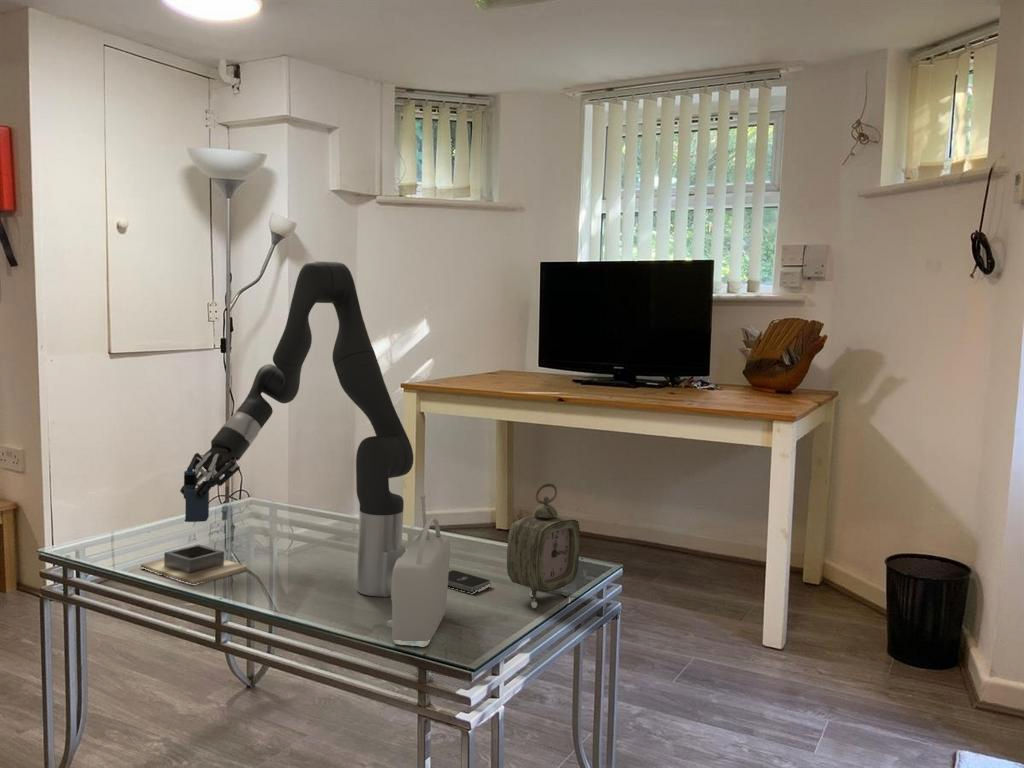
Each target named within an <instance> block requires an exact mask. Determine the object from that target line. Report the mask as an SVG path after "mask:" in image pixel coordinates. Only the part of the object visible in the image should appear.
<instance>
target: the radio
mask: <svg viewBox="0 0 1024 768" xmlns="http://www.w3.org/2000/svg"><path fill="white" fill-rule="evenodd" d="M420 498H421V509H422V510H421V511H422V512H421V513H422V526H423V527H422V528H423V529H421V530H420V532H419V535H418V536H416V538H415V539H414V540H413V542H412V543H411V544H410V545H409V547H408V548H406V552H405V553H404V554H403V555H402V556H401V558H398V559H397V560H396V563H395V565H394V568H393V574H392V581H391V595H390V600H391V608H392V609H391V619H388V620H387V621H386V627H387V628H391V640H392V639H393V640H401V641H428V640H430V639H431V638H432V636H433V635H434V636H435V634H434V633H436V632H437V630H438V628H439V626H440V624H441V622H442V621H443V618H444V616H445V615H446V611H447V601H448V600H447V599H448V590H449V588H448V573H449V571H450V570H449V569H450V556H451V555H450V553H451V541H450V539H449V538H448V537H447V536H442V535H441V527H440V524H439V521H438V520H437V518H429V519H427V516H426V515H427V514H426V494H425V493H420ZM432 523H433V526H434V529H435V535H430V531H429V530H430V527H431V525H432ZM435 631H436V632H435ZM434 636H433V637H434ZM432 639H433V638H432ZM393 640H392V641H393Z"/></svg>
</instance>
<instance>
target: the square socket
mask: <svg viewBox="0 0 1024 768" xmlns="http://www.w3.org/2000/svg"><path fill="white" fill-rule="evenodd" d="M163 559H164V566H166V567H169V568H172V569H175V570H178V571H182V572H185V573H188V574H192V573H195V572H199V571H203V570H206V569H210V568H214V567H217V566H221V565H224V559H225V551H223V550H220V549H216V548H212V547H209V546H206V545H202V544H199V543H198V544H195V545H191V546H187V547H183V548H178V549H174V550H168V551H165V552H164V557H163Z"/></svg>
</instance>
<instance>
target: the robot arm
mask: <svg viewBox="0 0 1024 768" xmlns="http://www.w3.org/2000/svg"><path fill="white" fill-rule="evenodd" d="M315 304H332V305H333V306H334V309H335V312H336V316H337V320H338V331H337V335H336V339H335V342H334V346H333V350H332V363H333V366H334V369H335V372H336V376H337V379H338V382H339V384H340V387H341V389H342V390H343V392H344V393H345V394H346V395H347V396H348V398H349V399H350V400H351V401H352V403H354V404H355V405H356V406H357V407H358V408H359V409H360V411H362V413H364V415H365V416H366V418H367V419H368V420H369V422H370V424H371V427H372V428H373V431H374V434H375V435H373V436H368V437H365V438H364V439H362V440H361V442H360V443H359V444H358V446H357V447H358V448H357V449H356V456H355V475H356V479H355V480H356V486H355V487H356V488H355V489H356V495H357V496H356V497H357V500H358V503H359V504H358V505H359V511H358V512H359V513H358V516H359V517H358V539H357V540H358V542H357V543H358V544H357V548H358V549H357V564H356V565H357V569H356V570H357V571H356V574H357V575H356V576H357V577H356V591H357V592H358V593H360V594H362V595H364V596H369V597H383V598H388V597H391V581H392V574H393V568H394V565H395V563H396V560H397V559H398V558H401V556H402V555H403V554H404V553H405V552H406V550H407V548H406V546H404V545H403V528H404V527H403V526H404V525H403V524H404V503H405V502H404V498H403V497H402V496H401V495H400V494H397V493H393V492H391V490H390V480H389V479H393V478H398V477H403V476H405V475H407V474H409V473H410V471H411V470H412V468H413V466H414V465H413V464H414V451H413V447H412V445H411V441H410V439H409V437H408V435H407V432H406V430H405V429H404V425H403V424H402V422H401V420H400V417H399V416H398V413H397V411H396V408H395V406H394V404H393V402H392V399H391V396H390V393H389V391H388V388H387V386H386V383H385V380H384V376H383V373H382V370H381V367H380V364H379V360H378V358H377V356H376V353H375V350H374V347H373V346H372V343H371V342H372V341H371V339H370V336H369V333H368V330H367V327H366V323H365V321H364V320H365V319H364V318H363V314H362V313H363V312H362V310H361V305H360V301H359V297H358V293H357V288H356V285H355V281H354V278H353V274H352V272H351V271H350V269H349V267H348V266H347V265H346V264H344V263H342V262H337V261H321V260H316V261H314V260H312V261H307V262H306V263H305V264H304V265H303V266H302V267H301V269H300V271H299V272H298V275H297V279H296V282H295V285H294V290H293V294H292V298H291V302H290V307H289V311H288V316H287V320H286V324H285V326H284V330H283V332H282V335H281V337H280V339H279V342H278V343H277V346H276V348H275V351H274V353H273V355H272V362H273V364H271V363H268V364H265V365H263V366H262V367H261V366H260V368H259V369H258V371H257V372H256V374H255V377H254V380H253V383H252V386H251V388H250V390H249V393H248V394H247V396H246V398H244V401H243V402H242V403H241V404H240V405H239V407H238V408H237V409H236V411H235V412H234V413H233V415H231V416H230V417H229V418H228V419H227V420H226V421H225V423H224V424H223V426H222V427H221V428H220V430H218V432H217V433H216V434H215V435H214V437H213V438H212V440H211V441H210V444H211V445H210V446H211V447H210V449H208V450H207V451H206V452H205V453H204V454H200V453H199V452H196V453H194V454H193V456H192V458H191V461H190V463H189V465H188V467H193V471H196V481H195V488H197V484H200V483H201V484H200V486H199V487H198V488H197V490H196V491H195V492H194V496H195V497H196V498H197V499H199V500H202V499H203V497H204V496H205V495H206V494H207V493H208V491H209V492H210V491H211V489H212V488H214V487H215V486H219V487H222V485H224V483H226V482H227V481H229V479H230V478H231V477H233V476H234V474H236V473H237V472H238V471H239V470H240V468H241V467H240V466H239V464H238V463H237V461H240V459H241V458H242V457H243V455H244V454H245V453H246V451H248V449H249V448H250V446H251V445H252V443H253V442H254V441H255V439H257V437H258V435H259V433H260V431H261V430H262V429H263V427H264V426H265V424H266V423H267V422H268V420H270V418H271V416H272V414H273V411H274V410H273V407H272V405H271V404H270V403H269V402H268V401H267V400H266V399H265V398H264V397H263V395H262V394H264V395H266V396H268V397H269V398H271V399H273V400H275V401H277V402H278V403H280V404H288V403H290V402H292V401H293V400H294V399H295V398H296V396H297V395H298V393H299V389H300V384H301V373H302V368H303V364H304V362H305V360H306V358H307V356H308V354H309V352H310V349H311V347H312V341H313V339H312V337H313V335H312V331H311V330H312V329H311V327H310V321H309V317H310V313H311V310H312V309H313V307H314V306H315ZM204 478H205V479H204ZM203 479H204V480H203ZM201 481H202V482H201ZM180 493H181V494H182V495H183V494H184V485H182V487H181V489H180Z"/></svg>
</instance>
